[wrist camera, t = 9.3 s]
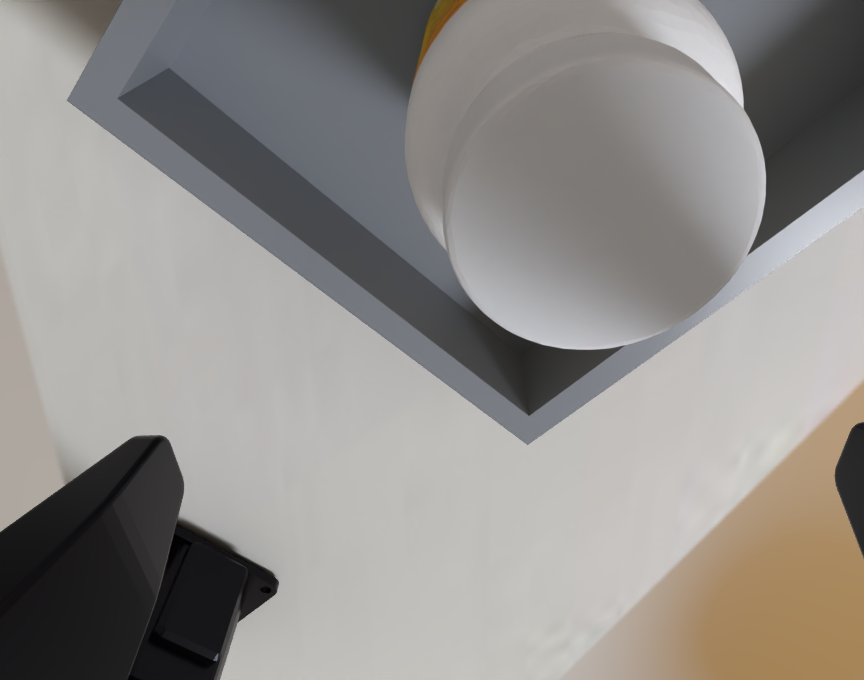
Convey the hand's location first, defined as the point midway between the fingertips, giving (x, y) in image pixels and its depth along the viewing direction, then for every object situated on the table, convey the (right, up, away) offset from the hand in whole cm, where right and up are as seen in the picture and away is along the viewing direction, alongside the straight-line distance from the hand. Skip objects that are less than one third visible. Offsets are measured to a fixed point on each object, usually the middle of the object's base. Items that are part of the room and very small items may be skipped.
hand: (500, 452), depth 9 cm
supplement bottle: (+2, +9, +8) cm, 12 cm away
